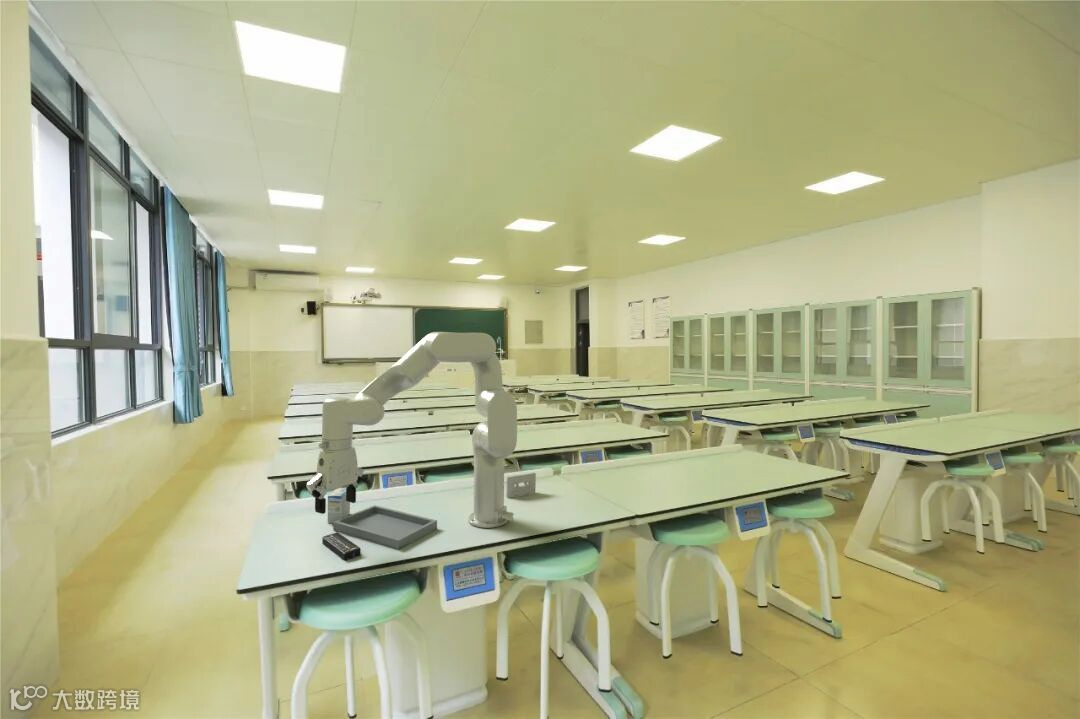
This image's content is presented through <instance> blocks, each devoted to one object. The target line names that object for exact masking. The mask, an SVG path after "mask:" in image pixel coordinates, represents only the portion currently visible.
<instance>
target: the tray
mask: <svg viewBox="0 0 1080 719" xmlns="http://www.w3.org/2000/svg"><path fill="white" fill-rule="evenodd" d="M332 525H333V527H332V530H333V531H334V532H335V531H336V532H337V533H340V534H346V535H348V536H352V537H355V538H358V539H362V540H365V541H369V542H371V543H376V544H379V545H382V546H385V547H388V548H392V549H395V550H398V551H399V550H401V549H402V548H404V547H407V546H408V545H410V544H411V543H412V544H413V543H414V542H415V541H417V540H419V539H420V538H421V539H422V537H424V536H426V535H428V534H430V533H432V532H433V531H435V530H437V529H438V520H437V519H433V518H428V517H424V516H420V515H416V514H413V513H412V514H411V513H407V512H404V511H400V510H396V509H392V508H388V507H384V506H379V505H376V504H374V505H372V506H369V507H367V508H365V509H362V510H359V511H356V512H354V513H352V514H350V515H348V516H347V517H344V518H342V519H339V520H337V521H334V522H333V523H332Z"/></svg>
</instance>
